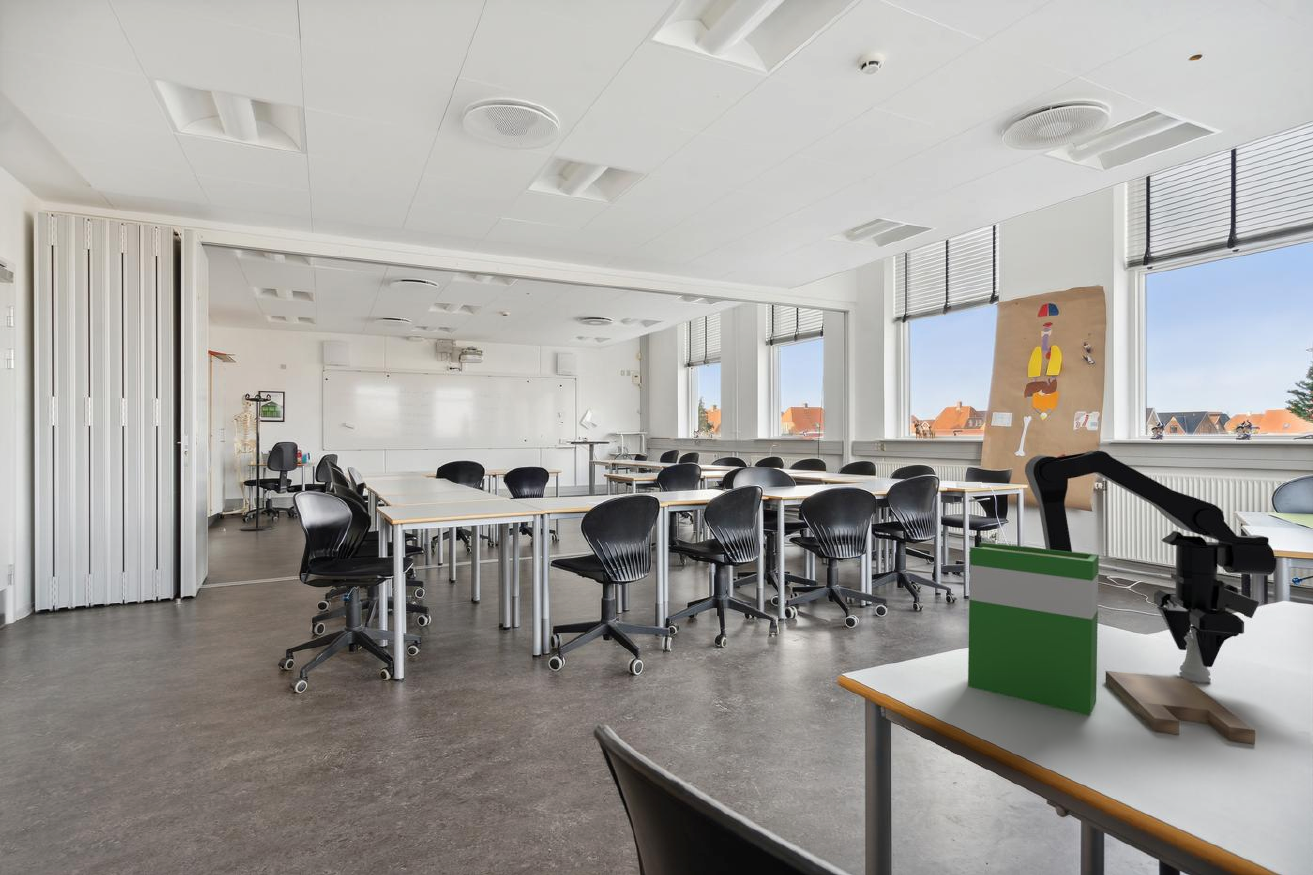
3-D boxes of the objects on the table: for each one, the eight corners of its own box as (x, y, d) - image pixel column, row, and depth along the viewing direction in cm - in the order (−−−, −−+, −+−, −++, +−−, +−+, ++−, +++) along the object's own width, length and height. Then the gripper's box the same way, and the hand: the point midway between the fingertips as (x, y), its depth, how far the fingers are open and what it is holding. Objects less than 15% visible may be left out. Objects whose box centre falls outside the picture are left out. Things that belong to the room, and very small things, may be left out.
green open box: (967, 686, 112) (970, 547, 112) (979, 674, 118) (981, 542, 118) (1090, 716, 101) (1092, 561, 101) (1096, 701, 107) (1098, 554, 106)
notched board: (1154, 731, 96) (1154, 718, 96) (1105, 682, 115) (1105, 670, 115) (1254, 743, 92) (1255, 729, 92) (1186, 690, 111) (1187, 678, 111)
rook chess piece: (1199, 674, 119) (1199, 631, 119) (1217, 684, 115) (1218, 638, 114) (1172, 673, 119) (1173, 630, 119) (1190, 683, 115) (1191, 637, 115)
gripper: (1284, 586, 105) (1282, 682, 106) (1222, 564, 123) (1221, 646, 123) (1201, 580, 109) (1199, 674, 109) (1153, 560, 127) (1151, 640, 127)
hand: (1194, 657), depth 117 cm, fingers open, 9 cm apart
